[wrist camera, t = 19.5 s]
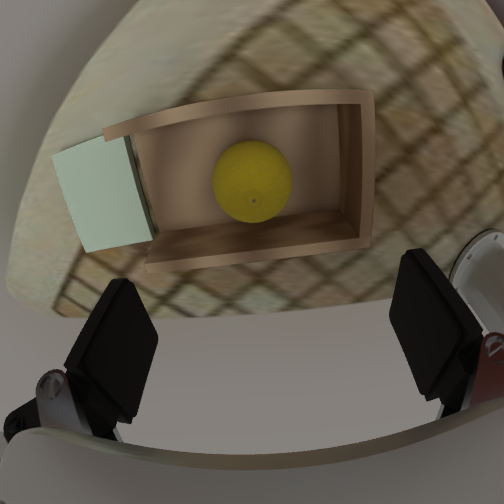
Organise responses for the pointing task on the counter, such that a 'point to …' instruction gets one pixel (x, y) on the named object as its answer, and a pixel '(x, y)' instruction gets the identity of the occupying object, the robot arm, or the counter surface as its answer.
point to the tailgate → (104, 193)
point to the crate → (297, 155)
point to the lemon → (252, 181)
